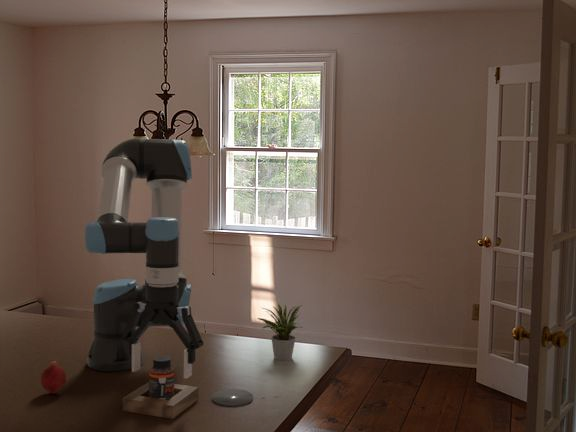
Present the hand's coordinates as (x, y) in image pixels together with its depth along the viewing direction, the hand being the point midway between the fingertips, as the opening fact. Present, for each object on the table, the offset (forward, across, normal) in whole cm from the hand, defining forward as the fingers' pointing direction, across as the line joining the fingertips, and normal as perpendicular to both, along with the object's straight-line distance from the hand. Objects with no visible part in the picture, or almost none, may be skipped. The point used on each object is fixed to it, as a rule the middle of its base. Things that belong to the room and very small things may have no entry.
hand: (161, 373), depth 160 cm
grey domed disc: (+8, +14, +10) cm, 19 cm away
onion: (+8, -28, -3) cm, 29 cm away
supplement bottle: (+8, 0, 0) cm, 8 cm away
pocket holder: (+8, 0, 0) cm, 8 cm away
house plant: (+7, +15, +47) cm, 50 cm away
